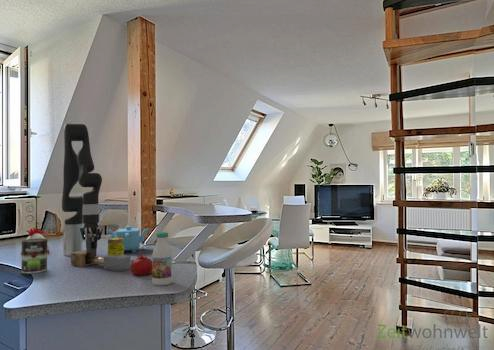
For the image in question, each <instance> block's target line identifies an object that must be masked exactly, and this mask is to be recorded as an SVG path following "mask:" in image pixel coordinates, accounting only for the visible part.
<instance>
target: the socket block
mask: <svg viewBox="0 0 494 350" xmlns="http://www.w3.org/2000/svg"><path fill="white" fill-rule="evenodd" d="M85 256H86V249H82V251H78V252H73V253H71V256H70V266H73V267H74V266H75V267H81V268H82V267H86V266H91V265H95V263H88V262H85Z"/></svg>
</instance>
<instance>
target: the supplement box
mask: <svg viewBox="0 0 494 350" xmlns="http://www.w3.org/2000/svg"><path fill="white" fill-rule="evenodd" d="M124 253H125V251H124V238H113V239H112V238H110V239H109V238H108V239H107V256H109V255H113V254H116V255H125V254H124Z"/></svg>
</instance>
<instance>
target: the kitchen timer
mask: <svg viewBox="0 0 494 350" xmlns="http://www.w3.org/2000/svg"><path fill="white" fill-rule="evenodd" d="M27 231H28V235H29V236H27V238H26V239H25V240H28V239H46V238H45V237H44V236H43V235H42V233H43V230H41V229H39V228H38V227H33V228H30V231H29V230H27ZM47 253H48V254H50V246H49V244H48V242H47ZM20 255H22V249H21V251H20Z"/></svg>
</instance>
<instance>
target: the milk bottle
mask: <svg viewBox="0 0 494 350" xmlns="http://www.w3.org/2000/svg"><path fill="white" fill-rule="evenodd" d="M155 234H156V243H155V245H154V248H153V251H152V258H151V259H152V260H151V261H152V272H151V273H152V274H151V275H152V276H151V278H152V279H151V280H152V281H151V282H152V284H153V286H167V285H171V284H172V283H173V252H172V248H171V246H170V244H169V240H168V239H169V232H166V231H164V232H163V231H162V232H160V231H159V232H157V233H155Z"/></svg>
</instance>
